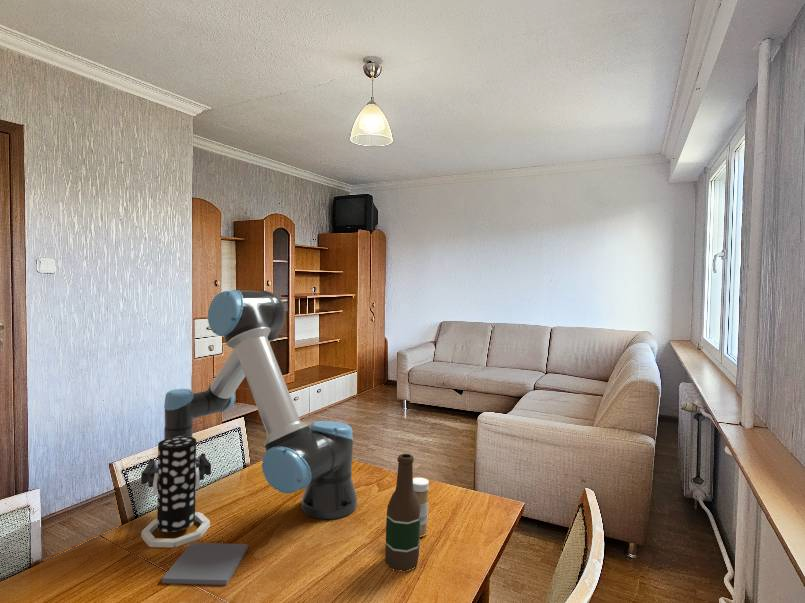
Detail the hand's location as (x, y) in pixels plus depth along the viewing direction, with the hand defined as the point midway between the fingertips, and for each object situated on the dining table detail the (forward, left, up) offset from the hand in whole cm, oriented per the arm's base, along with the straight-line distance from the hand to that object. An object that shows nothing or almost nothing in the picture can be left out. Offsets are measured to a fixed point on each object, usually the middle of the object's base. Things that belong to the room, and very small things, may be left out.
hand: (176, 486), depth 108 cm
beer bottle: (-53, +6, -13) cm, 55 cm away
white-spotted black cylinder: (+2, -4, -11) cm, 12 cm away
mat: (-11, +9, -13) cm, 19 cm away
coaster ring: (+2, -4, -13) cm, 14 cm away
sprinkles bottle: (-57, -6, -13) cm, 59 cm away
